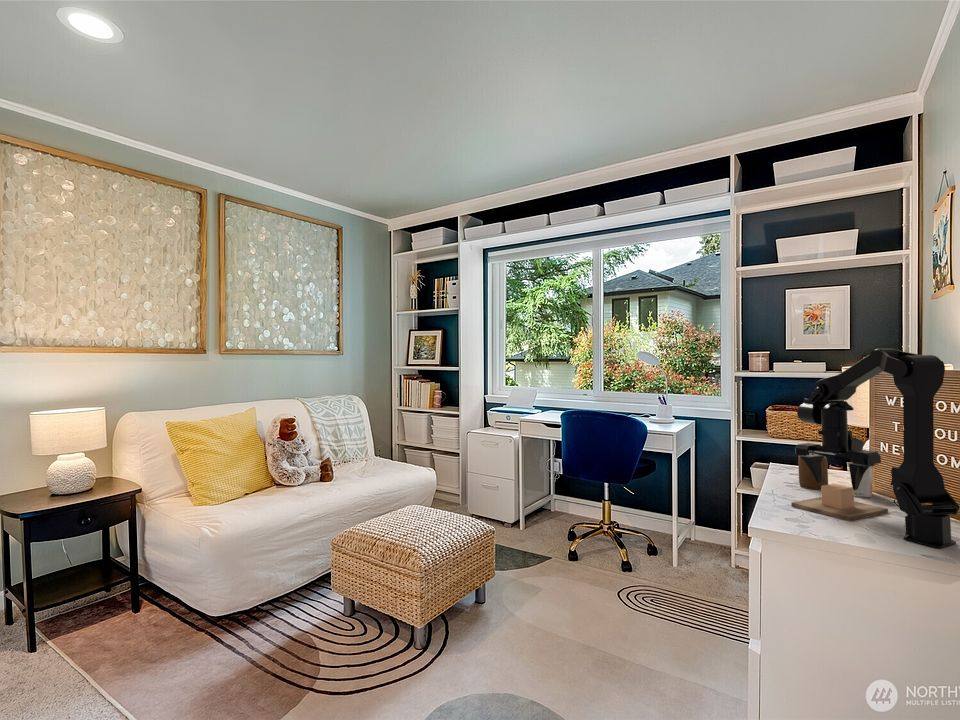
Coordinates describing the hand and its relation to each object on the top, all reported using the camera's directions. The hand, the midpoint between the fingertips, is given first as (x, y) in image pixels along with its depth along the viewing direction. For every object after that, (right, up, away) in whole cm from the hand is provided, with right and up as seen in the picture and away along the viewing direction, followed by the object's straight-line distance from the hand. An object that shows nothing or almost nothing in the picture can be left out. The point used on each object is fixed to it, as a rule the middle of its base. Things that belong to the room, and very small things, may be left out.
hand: (836, 486), depth 134 cm
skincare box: (+16, -6, +13) cm, 22 cm away
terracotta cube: (0, -5, 0) cm, 5 cm away
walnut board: (0, -6, 0) cm, 6 cm away
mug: (+9, -6, +22) cm, 24 cm away
